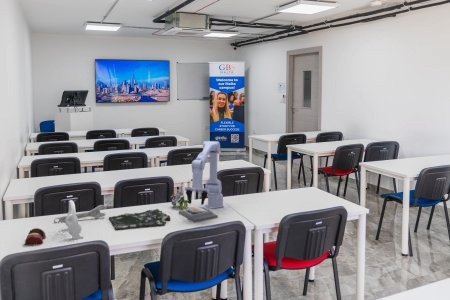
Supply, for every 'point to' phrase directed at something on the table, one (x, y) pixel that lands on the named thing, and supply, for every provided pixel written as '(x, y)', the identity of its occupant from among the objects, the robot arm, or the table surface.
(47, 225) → the table surface
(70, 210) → the grey figurine
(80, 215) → the wrench
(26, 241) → the dark brown rounded lump
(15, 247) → the table surface
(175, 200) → the passion flower
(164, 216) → the topographical map
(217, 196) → the robot arm
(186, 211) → the grey stepped slab
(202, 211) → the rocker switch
